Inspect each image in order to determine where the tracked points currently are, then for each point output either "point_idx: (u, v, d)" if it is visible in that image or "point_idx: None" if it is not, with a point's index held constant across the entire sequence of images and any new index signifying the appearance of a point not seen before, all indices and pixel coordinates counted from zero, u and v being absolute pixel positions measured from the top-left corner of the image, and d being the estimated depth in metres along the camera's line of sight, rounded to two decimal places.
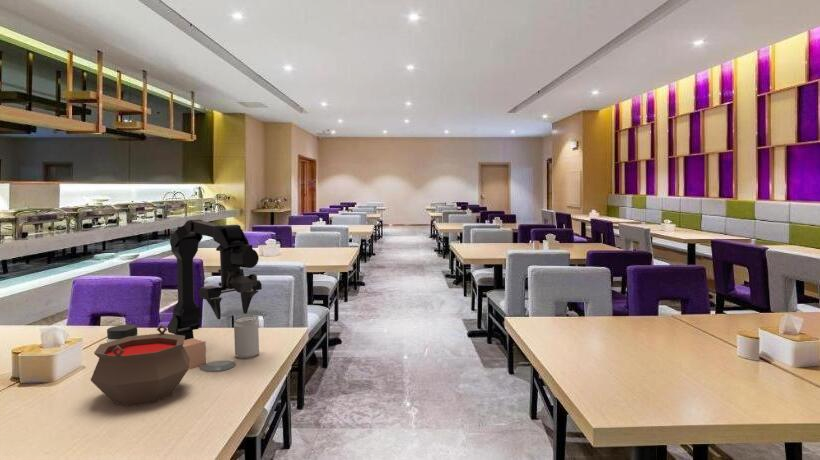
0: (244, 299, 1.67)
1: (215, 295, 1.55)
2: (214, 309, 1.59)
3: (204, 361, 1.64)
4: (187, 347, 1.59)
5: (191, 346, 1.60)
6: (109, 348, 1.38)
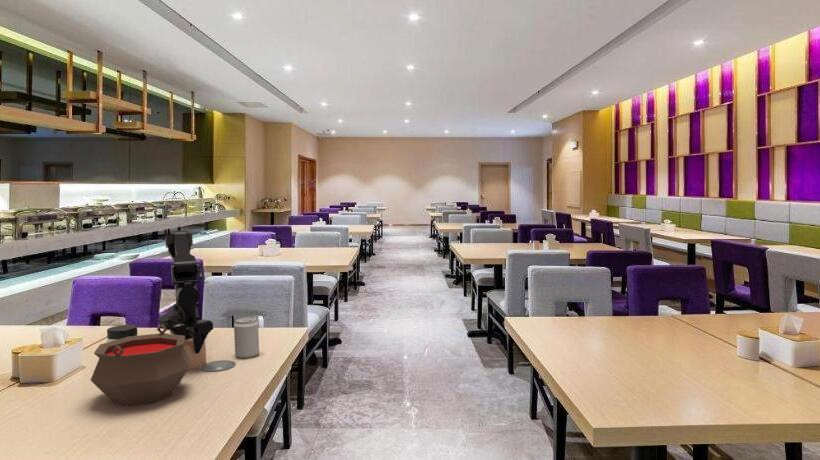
0: None
1: None
2: None
3: (204, 361, 1.64)
4: (187, 347, 1.59)
5: (191, 346, 1.60)
6: (109, 348, 1.38)
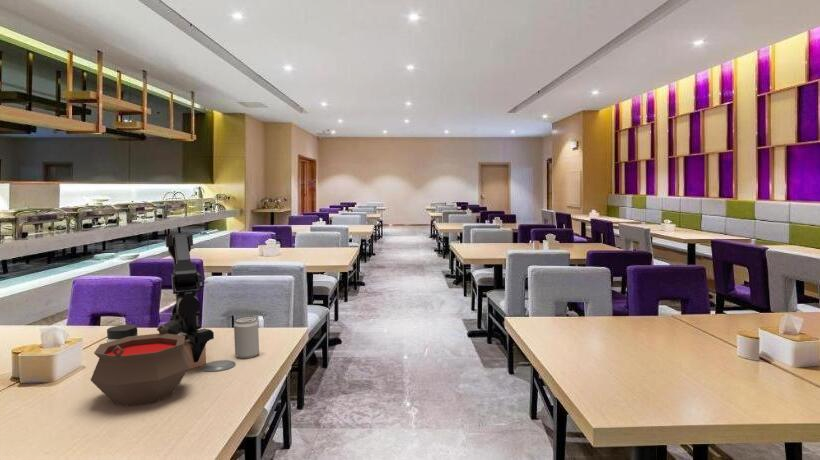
0: None
1: None
2: None
3: (204, 361, 1.64)
4: (187, 347, 1.59)
5: None
6: (109, 348, 1.38)
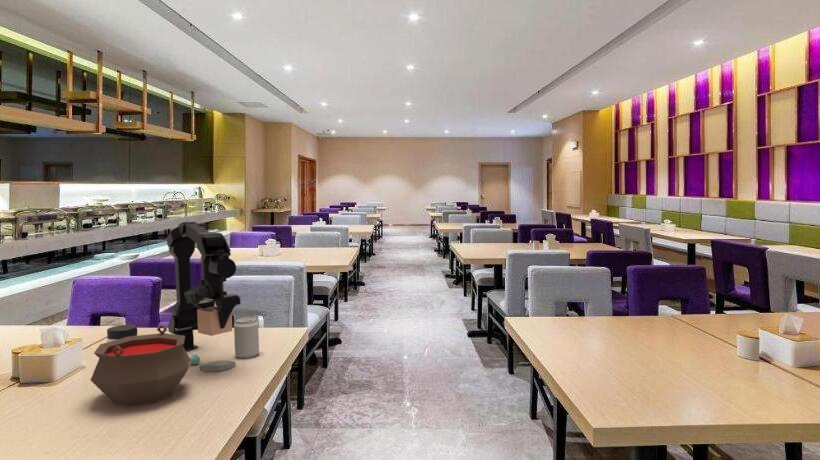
0: None
1: None
2: None
3: (230, 328, 1.61)
4: (213, 313, 1.56)
5: (217, 312, 1.57)
6: (109, 348, 1.38)
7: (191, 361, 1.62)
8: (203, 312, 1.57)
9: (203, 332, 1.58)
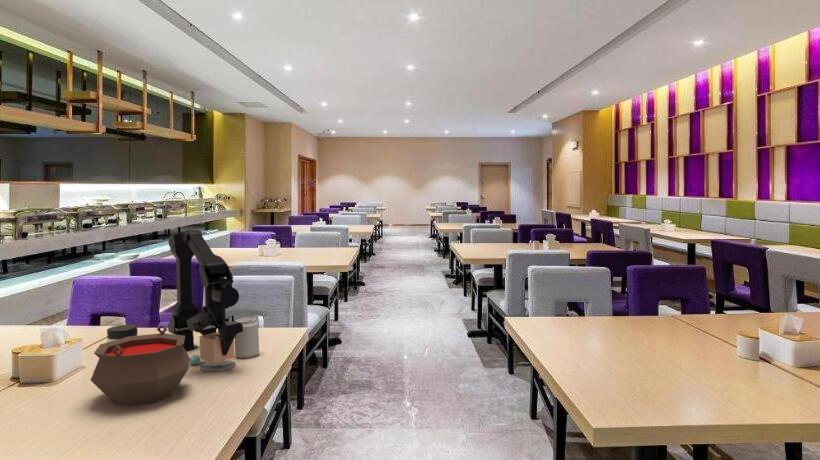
0: None
1: None
2: None
3: (232, 354, 1.61)
4: (216, 340, 1.57)
5: None
6: (109, 348, 1.38)
7: (191, 361, 1.62)
8: (205, 339, 1.58)
9: (205, 359, 1.59)
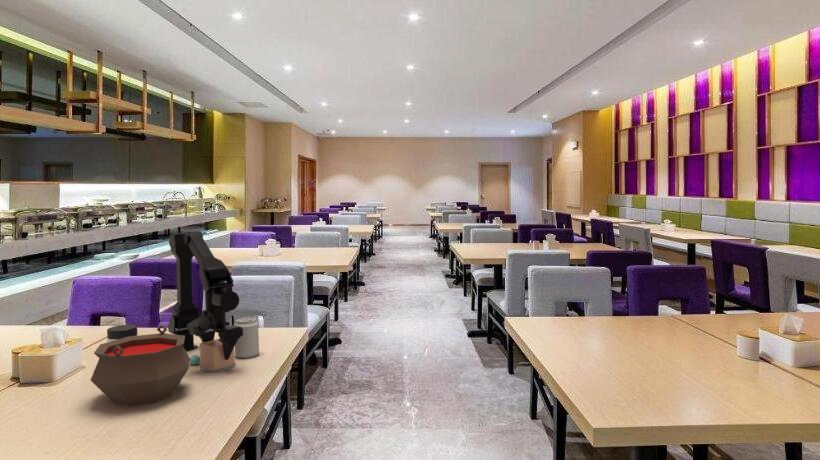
0: None
1: None
2: None
3: (233, 361, 1.62)
4: (216, 347, 1.57)
5: (220, 346, 1.58)
6: (109, 348, 1.38)
7: (191, 361, 1.62)
8: (206, 346, 1.58)
9: (206, 366, 1.59)
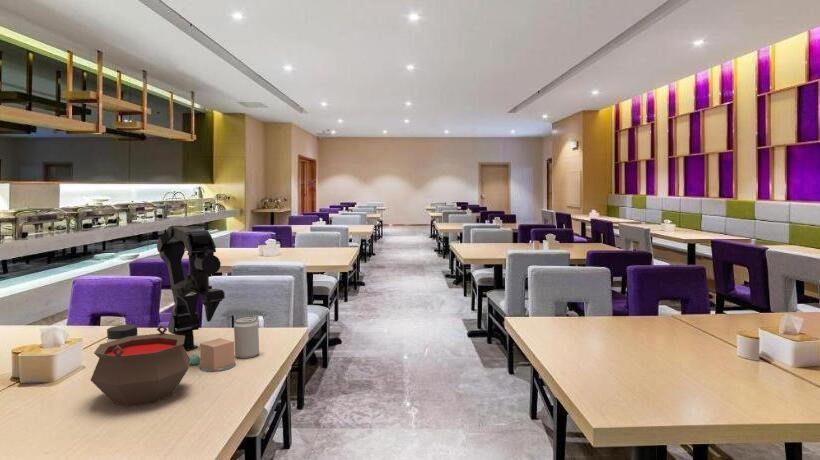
0: None
1: None
2: None
3: (233, 361, 1.62)
4: (216, 347, 1.57)
5: (220, 346, 1.58)
6: (109, 348, 1.38)
7: (191, 361, 1.62)
8: (206, 346, 1.58)
9: (206, 366, 1.59)
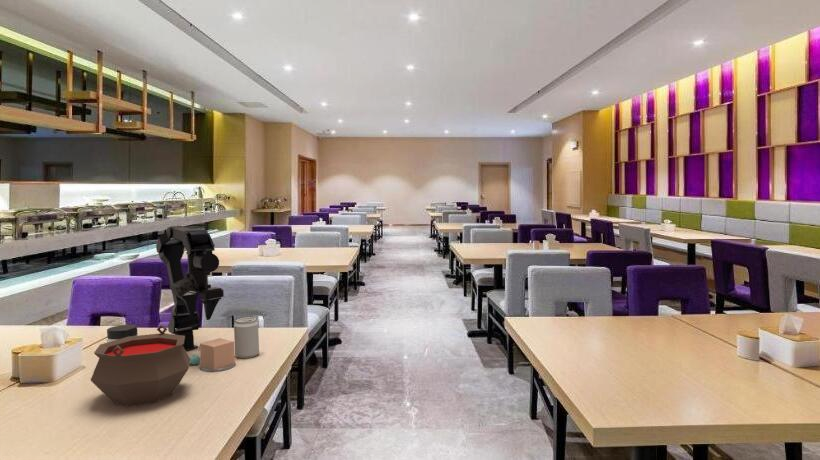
0: None
1: None
2: None
3: (233, 361, 1.62)
4: (216, 347, 1.57)
5: (220, 346, 1.58)
6: (109, 348, 1.38)
7: (191, 361, 1.62)
8: (206, 346, 1.58)
9: (206, 366, 1.59)
